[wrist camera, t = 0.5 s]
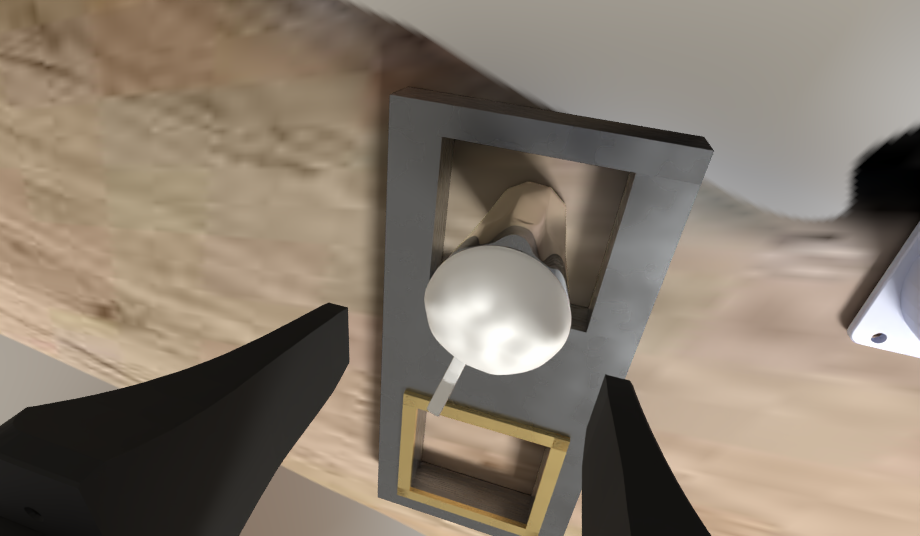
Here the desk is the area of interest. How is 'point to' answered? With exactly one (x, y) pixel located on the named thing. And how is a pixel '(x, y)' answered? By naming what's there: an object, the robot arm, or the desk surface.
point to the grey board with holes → (592, 329)
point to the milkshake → (503, 290)
